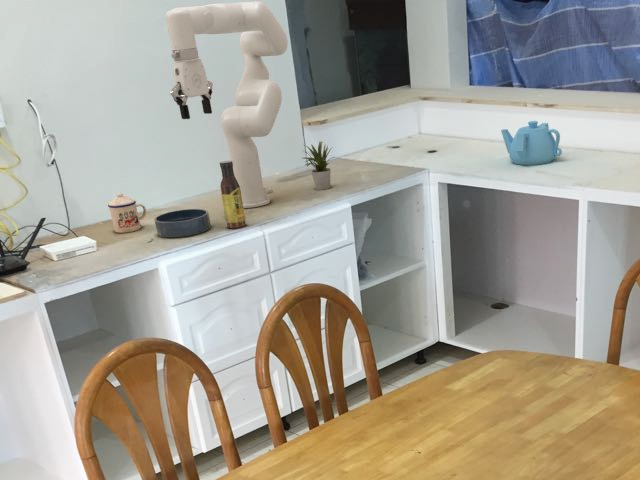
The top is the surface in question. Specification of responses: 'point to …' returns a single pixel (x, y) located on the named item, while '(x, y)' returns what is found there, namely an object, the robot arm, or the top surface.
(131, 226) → the teacup with lid
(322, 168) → the house plant
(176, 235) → the bowl
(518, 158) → the teapot
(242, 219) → the sauce bottle
